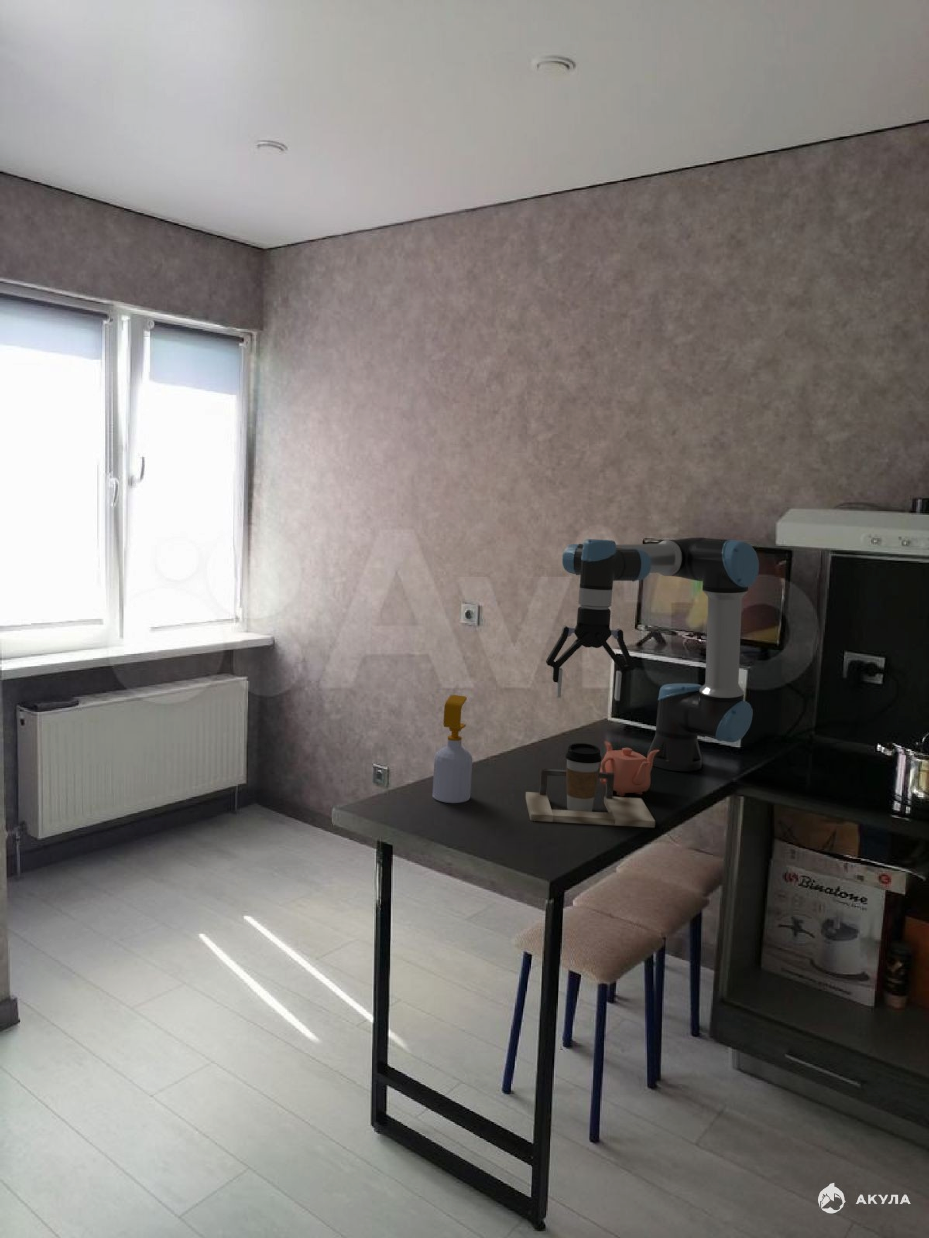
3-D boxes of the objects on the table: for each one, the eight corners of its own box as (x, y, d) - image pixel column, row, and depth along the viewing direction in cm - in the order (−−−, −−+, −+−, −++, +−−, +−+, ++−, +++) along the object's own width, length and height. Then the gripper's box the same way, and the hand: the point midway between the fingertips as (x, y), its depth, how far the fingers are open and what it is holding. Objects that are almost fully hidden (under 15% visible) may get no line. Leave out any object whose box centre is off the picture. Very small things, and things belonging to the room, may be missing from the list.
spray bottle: (474, 795, 220) (481, 695, 217) (462, 806, 212) (468, 702, 208) (440, 789, 223) (446, 691, 220) (426, 800, 214) (432, 697, 211)
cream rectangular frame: (640, 804, 221) (643, 774, 220) (654, 827, 205) (657, 795, 204) (525, 797, 220) (527, 767, 219) (530, 820, 205) (532, 788, 204)
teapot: (601, 778, 240) (605, 738, 239) (656, 787, 235) (659, 746, 234) (589, 793, 227) (592, 750, 226) (646, 803, 222) (650, 759, 221)
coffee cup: (596, 805, 218) (601, 744, 216) (598, 816, 210) (603, 753, 208) (561, 802, 219) (566, 741, 217) (561, 813, 210) (566, 750, 209)
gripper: (645, 608, 212) (638, 697, 215) (538, 602, 212) (532, 691, 215) (652, 612, 205) (644, 704, 208) (541, 605, 205) (535, 698, 207)
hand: (587, 698), depth 211 cm, fingers open, 13 cm apart
